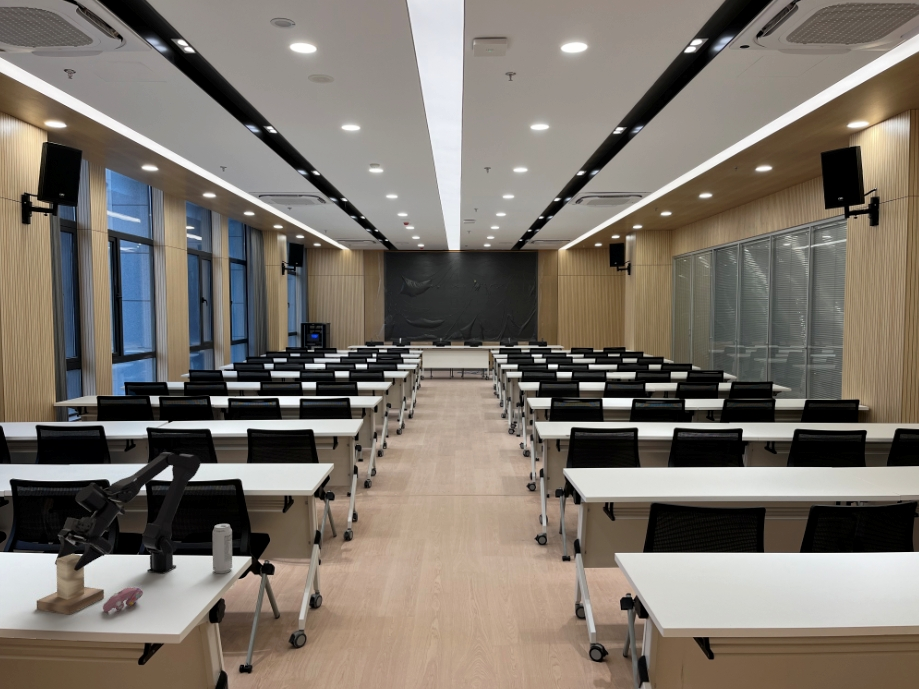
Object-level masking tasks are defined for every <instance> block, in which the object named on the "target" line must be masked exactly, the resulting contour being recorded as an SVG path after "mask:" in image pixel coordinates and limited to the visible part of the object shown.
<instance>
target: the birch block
mask: <svg viewBox="0 0 919 689" xmlns="http://www.w3.org/2000/svg"><path fill="white" fill-rule="evenodd" d="M81 556H82V555H80V554H75V553H72V554H71V555H67V556H64V557H61V558H58V559H57V558H56V559H55V561H56V564H57V565H56V564H55V565H56V592H57V597H61V598H64V599H67V600H68V599H71V598H73V597H76V596H79V595H82V594H84V587H85V566H84V567H83V568H81V569H79V570H78V571H75V570H74V568H75V566H76V564H77V562H78V561H79V559H80V558H81Z"/></svg>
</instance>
